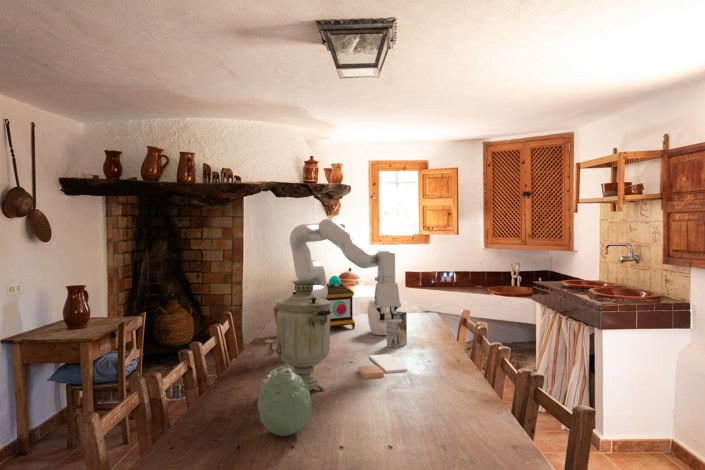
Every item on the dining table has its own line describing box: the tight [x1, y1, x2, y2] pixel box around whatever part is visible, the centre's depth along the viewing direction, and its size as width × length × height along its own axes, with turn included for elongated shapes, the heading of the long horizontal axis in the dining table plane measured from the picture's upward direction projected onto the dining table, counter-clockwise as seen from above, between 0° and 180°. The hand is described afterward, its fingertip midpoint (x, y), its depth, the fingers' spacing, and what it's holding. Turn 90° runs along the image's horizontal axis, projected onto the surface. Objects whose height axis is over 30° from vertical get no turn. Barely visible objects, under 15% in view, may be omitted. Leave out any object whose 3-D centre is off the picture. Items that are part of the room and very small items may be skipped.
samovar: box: [262, 279, 332, 392], centre depth 190 cm, size 30×26×40 cm
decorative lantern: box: [326, 275, 356, 330], centre depth 298 cm, size 20×20×30 cm
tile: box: [357, 364, 385, 379], centre depth 211 cm, size 8×2×10 cm
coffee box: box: [386, 310, 408, 349], centre depth 257 cm, size 9×6×16 cm
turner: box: [377, 313, 402, 323], centre depth 224 cm, size 18×7×4 cm, turn 15°
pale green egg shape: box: [257, 364, 313, 437], centre depth 153 cm, size 16×19×20 cm
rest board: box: [368, 353, 408, 374], centre depth 224 cm, size 9×24×1 cm, turn 15°
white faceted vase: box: [367, 297, 398, 336], centre depth 281 cm, size 16×27×19 cm, turn 7°
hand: (386, 321), depth 224 cm, fingers closed on turner, 3 cm apart
